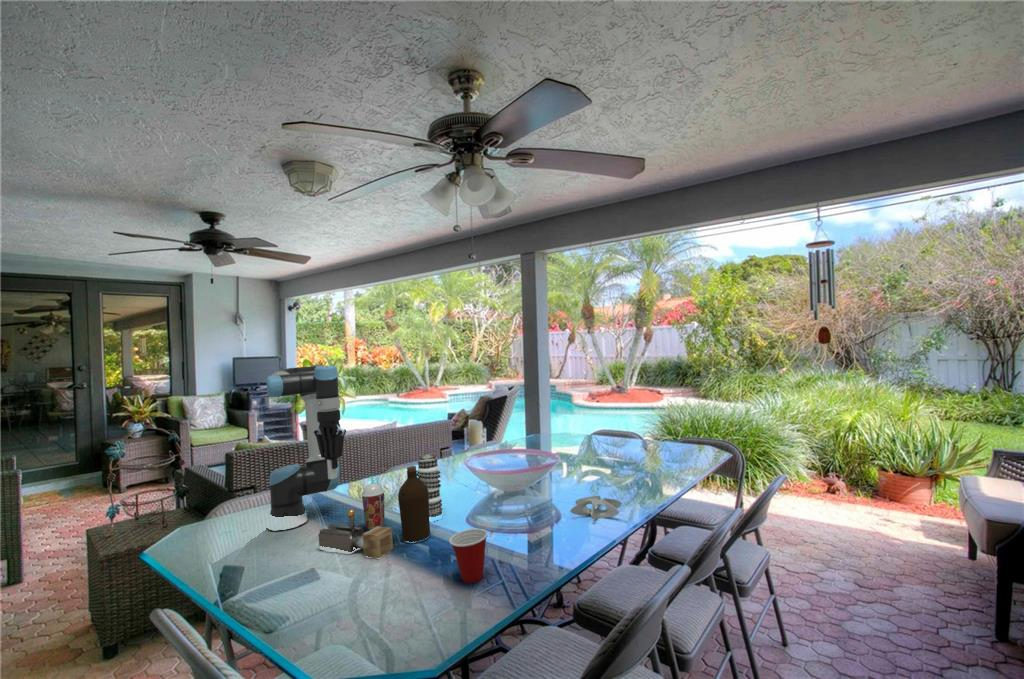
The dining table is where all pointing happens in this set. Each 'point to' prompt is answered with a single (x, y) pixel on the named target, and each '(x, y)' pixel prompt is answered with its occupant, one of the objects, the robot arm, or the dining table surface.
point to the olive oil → (414, 507)
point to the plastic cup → (470, 553)
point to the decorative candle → (431, 482)
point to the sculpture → (596, 513)
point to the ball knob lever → (356, 539)
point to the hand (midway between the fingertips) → (332, 477)
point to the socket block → (377, 541)
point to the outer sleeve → (338, 537)
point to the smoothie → (373, 504)
